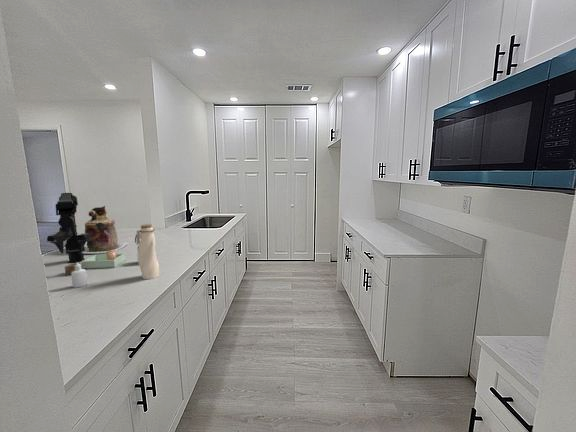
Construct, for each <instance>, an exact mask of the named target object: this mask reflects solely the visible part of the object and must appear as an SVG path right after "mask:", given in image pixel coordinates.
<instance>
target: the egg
mask: <svg viewBox="0 0 576 432" xmlns="http://www.w3.org/2000/svg"><path fill="white" fill-rule="evenodd" d="M116 254H117V251H108V252H106V257H107V260H114V259H116V258H117V257H116Z"/></svg>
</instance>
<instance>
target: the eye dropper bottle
mask: <svg viewBox="0 0 576 432" xmlns="http://www.w3.org/2000/svg"><path fill="white" fill-rule="evenodd" d="M79 263H80V262H77V263H75V264H76V265H75V270H74V271H73V272H72V273H71V275H70V276H71V283H72V288H74V289H77V288H78V289H79V288H81V287H84V286H87V285H88V277H87V271H86V270H87V269H82V264H81V265H80V264H79Z"/></svg>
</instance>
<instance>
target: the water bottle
mask: <svg viewBox="0 0 576 432" xmlns="http://www.w3.org/2000/svg"><path fill="white" fill-rule="evenodd" d="M154 231H156V230H155V228H153V226H152V224H151V223H148V224H147V223H146V224H145V223H144V224H141V225H140V230H136V234H135V237H134V243H135V244H136V246H139V248H137V263H138V265H139V268H140V272H141V276H142V279H144V280H151V279H156V278H157V277H159V275H160V265H159V261H158V258H157V254H156V253H157V252H156V237H155V234H154Z"/></svg>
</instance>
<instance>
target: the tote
mask: <svg viewBox="0 0 576 432" xmlns="http://www.w3.org/2000/svg"><path fill="white" fill-rule="evenodd" d="M116 257H117V258H116V259H114V260H107V257H106V254H92V255H91V256H89V257H87V258H84V259H85V260H83V261H81V262H80V263H81V269H85V270H90V269H91V270H93V269H113V268H117V267H118V266H120V265H121V264H122V263H124V262H126V253H116Z"/></svg>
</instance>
